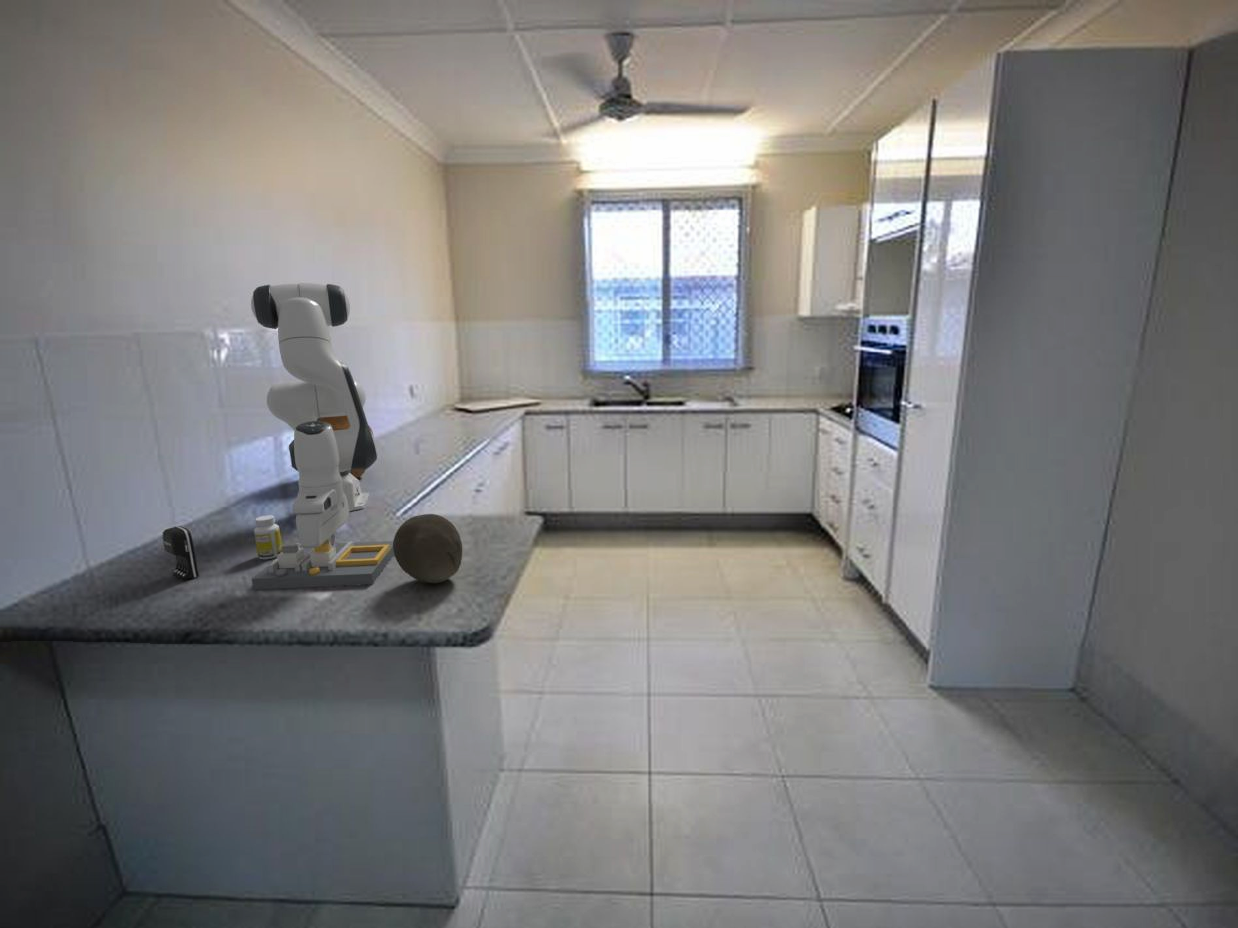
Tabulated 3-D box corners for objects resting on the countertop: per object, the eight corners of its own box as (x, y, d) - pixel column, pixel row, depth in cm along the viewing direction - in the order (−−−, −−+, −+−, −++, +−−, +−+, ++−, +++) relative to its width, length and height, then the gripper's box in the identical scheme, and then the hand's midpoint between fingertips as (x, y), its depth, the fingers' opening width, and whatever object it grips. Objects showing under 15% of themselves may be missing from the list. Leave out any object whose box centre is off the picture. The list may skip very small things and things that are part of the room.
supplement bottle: (277, 550, 156) (271, 512, 154) (287, 554, 153) (281, 516, 151) (254, 556, 152) (248, 518, 150) (263, 561, 149) (257, 522, 147)
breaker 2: (318, 560, 142) (316, 541, 141) (336, 559, 143) (334, 540, 141) (311, 567, 138) (308, 547, 137) (330, 566, 139) (327, 546, 138)
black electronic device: (168, 576, 142) (158, 528, 139) (187, 570, 145) (178, 523, 142) (181, 583, 138) (171, 534, 135) (200, 577, 141) (191, 529, 138)
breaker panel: (294, 554, 153) (291, 538, 152) (398, 550, 155) (396, 534, 154) (253, 589, 134) (250, 571, 133) (372, 584, 135) (370, 566, 134)
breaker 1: (287, 561, 142) (284, 542, 141) (305, 560, 142) (302, 541, 141) (279, 568, 138) (276, 548, 137) (297, 567, 138) (294, 548, 137)
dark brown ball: (460, 564, 145) (455, 503, 141) (469, 588, 132) (463, 521, 128) (396, 574, 140) (389, 510, 136) (398, 600, 127) (391, 531, 124)
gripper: (325, 483, 150) (332, 537, 153) (287, 508, 130) (297, 570, 133) (352, 482, 150) (359, 536, 154) (319, 507, 131) (327, 569, 134)
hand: (330, 552), depth 143 cm, fingers closed
